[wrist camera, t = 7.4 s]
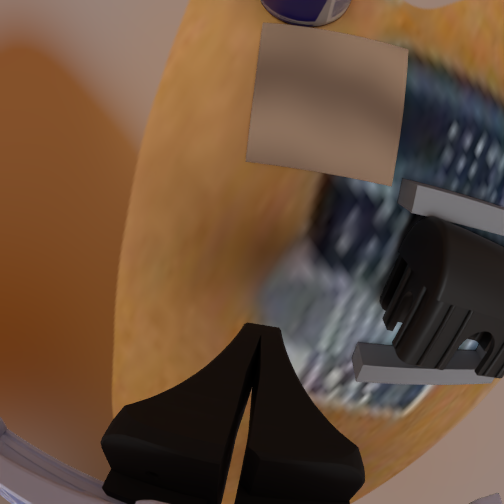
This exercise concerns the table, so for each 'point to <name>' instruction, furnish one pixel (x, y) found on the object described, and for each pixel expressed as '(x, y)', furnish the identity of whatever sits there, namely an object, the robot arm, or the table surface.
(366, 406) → the table surface
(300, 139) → the walnut stand
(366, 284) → the table surface
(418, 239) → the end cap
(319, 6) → the energy drink
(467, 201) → the corral stand
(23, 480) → the robot arm
